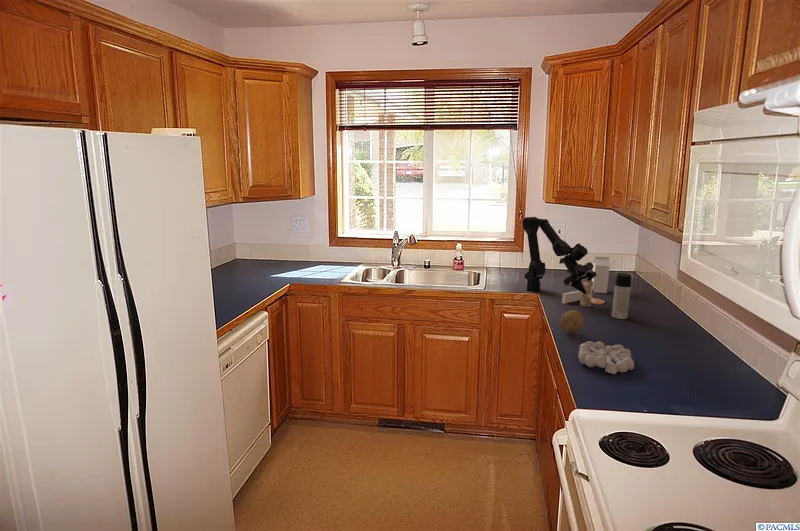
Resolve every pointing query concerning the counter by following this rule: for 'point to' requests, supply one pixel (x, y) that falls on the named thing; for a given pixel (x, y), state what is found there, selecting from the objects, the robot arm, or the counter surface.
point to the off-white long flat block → (571, 297)
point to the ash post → (588, 296)
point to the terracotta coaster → (597, 301)
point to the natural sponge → (572, 321)
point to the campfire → (606, 357)
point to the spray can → (621, 296)
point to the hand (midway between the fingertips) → (589, 292)
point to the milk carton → (601, 274)
